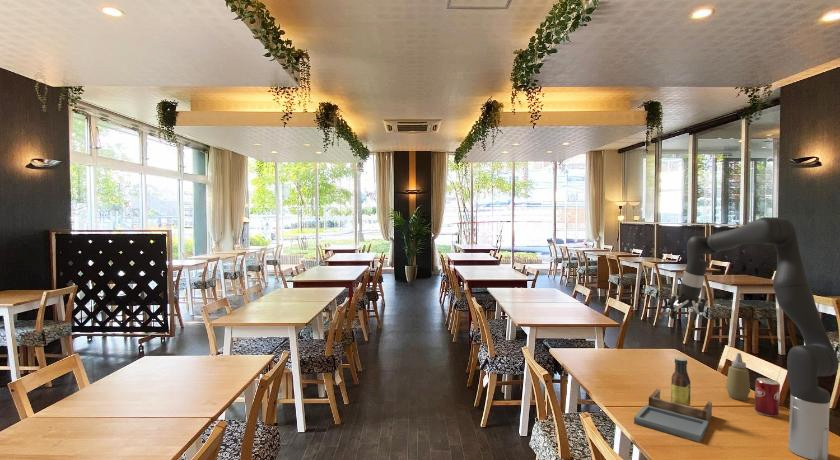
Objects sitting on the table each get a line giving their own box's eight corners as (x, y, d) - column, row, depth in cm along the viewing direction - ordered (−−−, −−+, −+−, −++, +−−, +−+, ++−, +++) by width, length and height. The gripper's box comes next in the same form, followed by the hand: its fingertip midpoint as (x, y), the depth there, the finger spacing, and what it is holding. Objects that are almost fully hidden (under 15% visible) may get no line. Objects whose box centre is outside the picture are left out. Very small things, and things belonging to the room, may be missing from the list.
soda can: (756, 414, 168) (757, 382, 168) (752, 407, 174) (753, 376, 174) (781, 418, 165) (782, 385, 164) (776, 411, 171) (777, 379, 171)
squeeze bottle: (720, 395, 186) (722, 351, 185) (733, 392, 189) (734, 349, 188) (742, 403, 178) (743, 357, 178) (754, 399, 182) (756, 355, 181)
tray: (708, 427, 157) (708, 421, 157) (700, 442, 146) (700, 435, 146) (645, 410, 170) (645, 404, 170) (633, 423, 159) (634, 417, 159)
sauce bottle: (692, 417, 165) (694, 362, 164) (673, 415, 166) (675, 361, 166) (686, 409, 171) (687, 357, 171) (667, 408, 173) (669, 356, 172)
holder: (711, 415, 166) (712, 402, 166) (705, 426, 158) (706, 411, 158) (656, 401, 179) (656, 389, 178) (648, 410, 170) (648, 397, 170)
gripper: (679, 284, 185) (670, 321, 188) (714, 288, 185) (704, 325, 189) (670, 278, 192) (661, 314, 196) (703, 282, 192) (693, 317, 196)
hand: (682, 319), depth 192 cm, fingers open, 8 cm apart
